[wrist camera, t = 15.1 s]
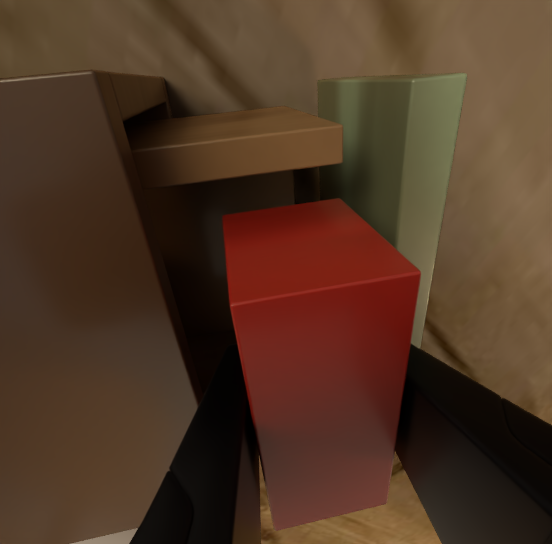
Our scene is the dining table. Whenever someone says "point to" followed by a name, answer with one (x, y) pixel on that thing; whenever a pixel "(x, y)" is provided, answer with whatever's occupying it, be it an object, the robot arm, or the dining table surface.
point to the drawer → (280, 182)
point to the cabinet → (83, 313)
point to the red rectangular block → (320, 352)
